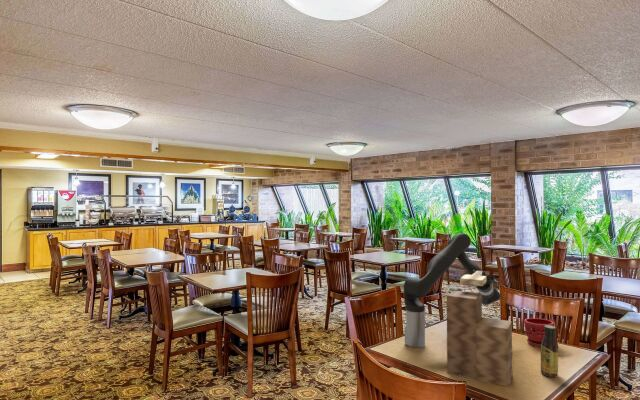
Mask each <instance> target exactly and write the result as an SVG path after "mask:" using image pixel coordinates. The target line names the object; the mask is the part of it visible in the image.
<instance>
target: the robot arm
mask: <svg viewBox="0 0 640 400" xmlns="http://www.w3.org/2000/svg"><path fill="white" fill-rule="evenodd" d="M471 243H472V241H471V238H470V235H468V234H467V233H464V232H460V233H457V234H456V235H454V236H453V237H451V239H450V240H449V241H448V245H447V246H446V247H445V248H443V249H442V250H439V252H438V253H437V254H436V255H434V256H433V257H432V258H431V259H430V260H429V262H428V266H427V272H426V274H425V275H424V276H423V277H421V278H418V277H413V276H412V277H411V276H410V277H409V276H408V277H407V278H406V279H405V281H404V283H403V299H404V302H403V303H404V305H405V324H404V345H406V346H408V347H411V348H419V349H420V348H424V347H425V346H426V313H425V312H426V307H425V304H424V303H423V302H421V300H420V299H421V298H424V297H426V296H427V295H428V294H429V292H430V291H431V289H432V288H433V287H434V285H435V284H436V282H438V281H439V279H440V278H441V277H442V276H443V275H444V273H446V272H447V271H448V270H449V268H450V267H451V266H452V265H453V264H454V262H455V261H456V260H458V261H459V262H460V264H461V265H462V267H464V269H465V270H466V272H467V273H468V275H472V274H473V273H475V272H476V271H482V276H486V283H485V284H484V285H483V286H476V285H474V286H475V287H476V289H477V292H478V293H482V305H484V306H488V305H491V304H493V303H496V302H498V301H499V300H501V296H502V295H501V293H500V291H499V290H498V289H497V288H496V287H495V286H494V285H497V277H495V276H494V275H492V274H487V273H486V272H484V271H485V270H484V271H483V270H482V268H481V267H480V266H479V265H478V264H476V263H475V262H474V261H473V260H471V259H470V257H468V255H467V253H466V250H467V249H468V248H469V247H470V246H471ZM419 298H420V299H419Z"/></svg>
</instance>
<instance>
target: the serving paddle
mask: <svg viewBox="0 0 640 400" xmlns="http://www.w3.org/2000/svg"><path fill="white" fill-rule="evenodd" d="M482 271H483V270H482ZM482 271H476V272H475V273H473V274H472V275H469V274H464V275H463V276H461V277H460V278H459V279H460V280H459V283H460V285H467V286H475V285H476V286H483V285H484V284H485V283H486V276H482ZM484 272H485V270H484ZM485 273H486V272H485ZM476 286H475V287H476Z"/></svg>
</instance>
